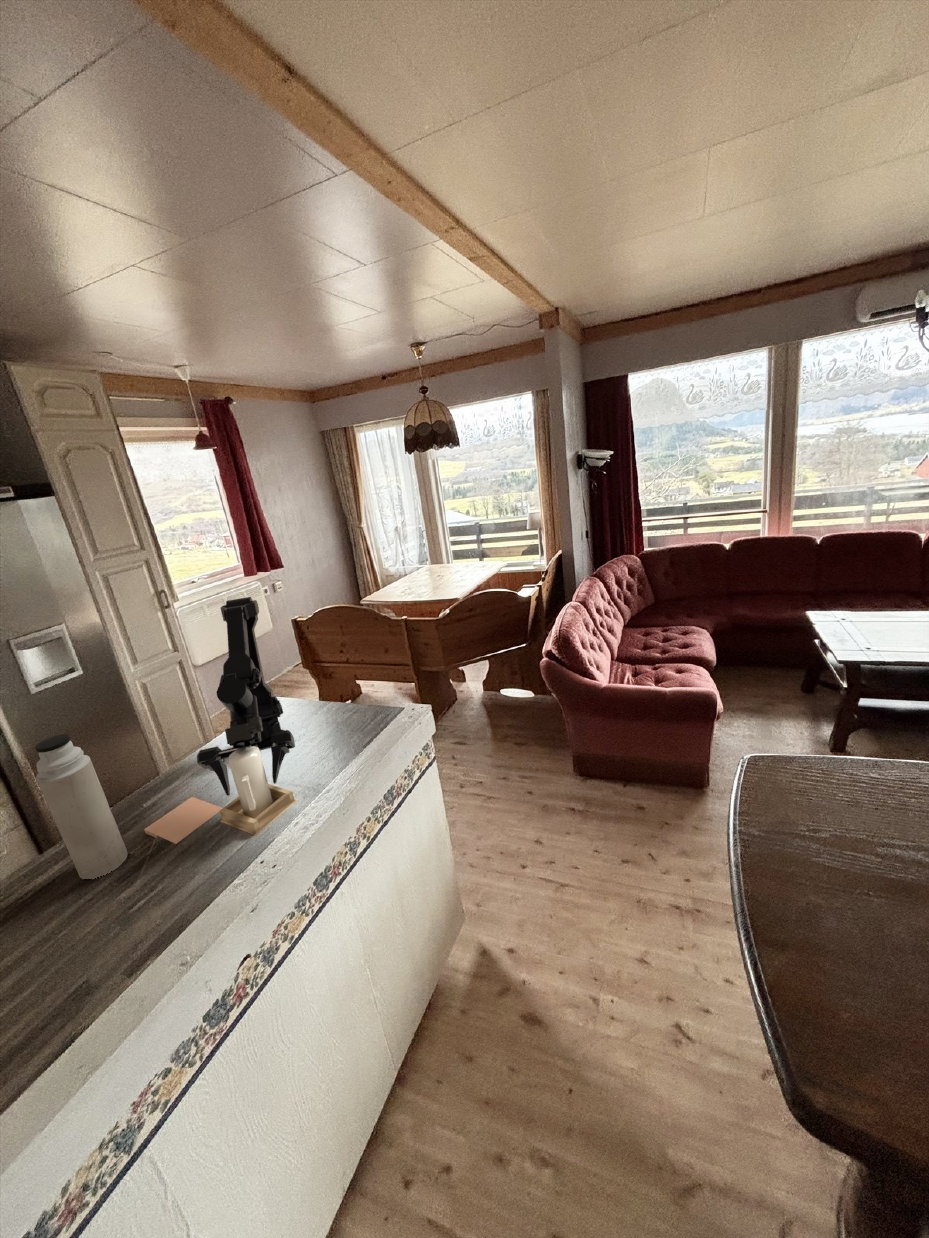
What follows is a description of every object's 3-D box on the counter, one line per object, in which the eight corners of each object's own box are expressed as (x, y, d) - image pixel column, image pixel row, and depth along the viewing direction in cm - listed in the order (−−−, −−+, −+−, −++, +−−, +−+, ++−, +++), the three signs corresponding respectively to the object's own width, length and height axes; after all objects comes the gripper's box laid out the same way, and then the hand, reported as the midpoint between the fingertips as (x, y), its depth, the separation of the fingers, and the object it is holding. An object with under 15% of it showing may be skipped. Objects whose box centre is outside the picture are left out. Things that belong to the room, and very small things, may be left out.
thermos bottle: (101, 848, 101) (52, 729, 92) (137, 847, 100) (90, 727, 91) (68, 880, 94) (11, 753, 85) (106, 880, 93) (52, 752, 84)
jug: (245, 805, 108) (230, 750, 104) (274, 798, 110) (260, 743, 105) (241, 830, 101) (224, 771, 96) (272, 821, 102) (257, 763, 98)
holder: (220, 824, 104) (216, 811, 103) (263, 792, 114) (259, 779, 113) (257, 839, 99) (253, 825, 98) (298, 803, 108) (295, 790, 107)
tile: (145, 833, 104) (144, 829, 104) (193, 800, 113) (191, 796, 113) (177, 847, 99) (175, 843, 99) (224, 812, 108) (223, 808, 108)
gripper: (186, 717, 100) (189, 795, 94) (282, 696, 105) (291, 769, 98) (203, 732, 110) (207, 803, 103) (290, 712, 115) (300, 780, 108)
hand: (251, 789), depth 103 cm, fingers open, 9 cm apart
